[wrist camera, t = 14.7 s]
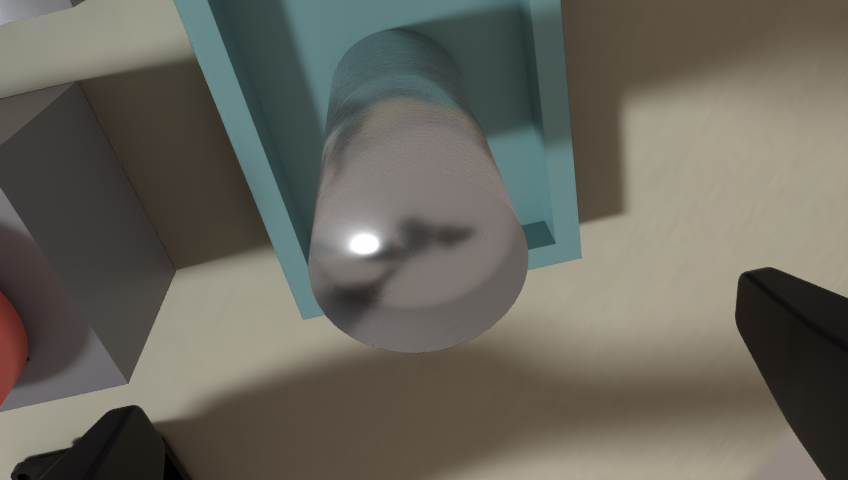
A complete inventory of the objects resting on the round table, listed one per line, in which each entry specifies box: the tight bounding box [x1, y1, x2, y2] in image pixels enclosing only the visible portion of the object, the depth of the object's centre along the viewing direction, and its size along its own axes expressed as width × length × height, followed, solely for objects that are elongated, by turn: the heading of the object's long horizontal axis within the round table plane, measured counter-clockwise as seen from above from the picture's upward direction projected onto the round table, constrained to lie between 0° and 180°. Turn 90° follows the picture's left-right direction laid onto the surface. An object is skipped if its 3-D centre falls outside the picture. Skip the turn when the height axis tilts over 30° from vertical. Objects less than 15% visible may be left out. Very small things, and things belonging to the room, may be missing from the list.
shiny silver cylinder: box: [308, 29, 528, 353], centre depth 15 cm, size 4×4×9 cm
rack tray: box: [173, 0, 582, 320], centre depth 19 cm, size 13×10×2 cm
